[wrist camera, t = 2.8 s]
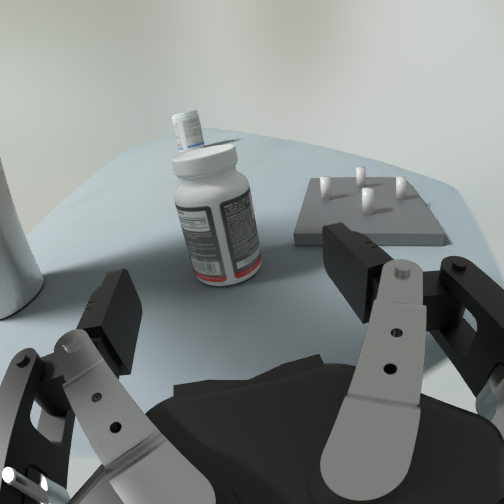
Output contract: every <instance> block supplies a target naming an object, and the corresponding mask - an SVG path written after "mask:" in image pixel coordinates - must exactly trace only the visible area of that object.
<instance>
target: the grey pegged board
mask: <svg viewBox="0 0 504 504" xmlns="http://www.w3.org/2000/svg"><path fill="white" fill-rule="evenodd" d="M339 222H342V223H343V224H344V225H345V226H347V227H348V228H349V229H350V230H351V231H352V232H353V231H356V232H359V233H362V234H364V235H366V236H367V237H368V238H370V239H371V240H372V242H374V243H376V244H377V245H378V246H443V244H444V238H445V233H444V231H443V230H442V228H441V227H440V225H439V224H438V222H437V221H436V219H435V218H434V216H433V215H432V214H431V212H430V211H429V209H428V208H427V206H426V205H425V204H424V202H423V201H422V199H421V198H420V197H419V195H418V194H417V193H416V191H415V190H414V189H413V187H412V186H411V185H410V183H409V182H408V181H407V180H406V177H403V176H397V177H396V178H389V177H366V173H365V167H356V177H345V178H330V177H328V176H324V177H320V178H311V179H310V182H309V185H308V189H307V192H306V195H305V199H304V202H303V205H302V208H301V212H300V215H299V218H298V221H297V225H296V228H295V231H294V242H295V246H323V237H322V229H323V226H324V225H329V224H334V223H339Z"/></svg>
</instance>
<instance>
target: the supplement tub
mask: <svg viewBox="0 0 504 504" xmlns="http://www.w3.org/2000/svg"><path fill="white" fill-rule="evenodd" d="M172 120H173V126H174V130H175V135H176V139H177V143H178V148H179V152H180V153H185V152H188V151H192V150H196V149H200V148H204V146H205V145H204V140H203V135H202V130H201V125H200V121H199V116H198V113H197V110H194V111H189V112H184V113H181V114H177V115H173V116H172Z"/></svg>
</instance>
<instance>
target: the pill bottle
mask: <svg viewBox="0 0 504 504" xmlns="http://www.w3.org/2000/svg"><path fill="white" fill-rule="evenodd" d="M237 161H238V158H237V153H236V148H235V146H234V145H216V146H210V147H205V148H200V149H196V150H192V151H188V152H185V153H182V154H179V155H177V156H175V157H173V158H172V165H173V171H174V174H175V175H177V177H178V178H179V179H180V185H179V186H178V187H177V189H176V191H175V194H174V200H175V205H176V208H177V212H178V216H179V220H180V223H181V227H182V231H183V234H184V238H185V241H186V245H187V248H188V252H189V255H190V259H191V262H192V265H193V269H194V272H195V275H196V276H197V278H198V279H199V280H200V281H201V282H203V283H205V284H208V285H211V286H229V285H234V284H237V283H240V282H243V281H245V280H247V279H248V278H250V277H251V276H253V275H254V274H255V273H256V272H257V271H258V269H259V268H260V266H261V261H262V258H261V251H260V245H259V239H258V233H257V227H256V222H255V215H254V209H253V204H252V197H251V192H250V186H249V182H248V180H247V178H246V177H245V176H244V175H243V174H241V173H239V172H237V171H236V167H235V165H236V164H237Z"/></svg>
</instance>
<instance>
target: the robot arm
mask: <svg viewBox="0 0 504 504" xmlns="http://www.w3.org/2000/svg"><path fill="white" fill-rule="evenodd" d="M322 237H323V258H324V266H325V269H326V272H327V274H328V276H329V277H330V278H331V280H332V281H333V282H334V284H335V285H336V286H337V288H338V289H339V291H340V292H341V293H342V295H343V296H344V298H345V299H346V300H347V302H348V303H349V305H350V306H351V307H352V309H353V310H354V312H355V313H356V315H357V316H358V317H359V319H360V320H361V322H362V323H363V324H364V323H367V322H369V324H368V327H367V331H366V335H365V339H364V342H363V346H362V349H361V353H360V356H359V359H358V363H357V366H351V365H346V364H333V363H328V364H324V363H323V361H322V359H321V357H320V355H319V354H317V355H314V356H310V357H307V358H303V359H299V360H296V361H292V362H288V363H284V364H282V365H280V366H278V367H276V368H274V369H271V370H269V371H267V372H265V373H263V374H261V375H258V376H256V377H254V378H252V379H249V380H205V381H199V382H193V383H186V384H179V385H174V395H173V397H170V398H168V399H166V400H164V401H162V402H160V403H159V404H157V405H155V406H154V407H153V408H151V409H150V410H149V411H148V412H147V413H146V414H145V413H144V412H143V411H142V410H141V409H140V407H139V406H138V405H137V404H136V402H135V401H134V400H133V399H132V397H131V396H130V395H129V394H128V392H127V391H126V390H125V388H124V387H123V386H122V384H121V383H120V382H119V376H120V375H129V374H131V370H132V364H133V358H134V353H135V348H136V342H137V337H138V332H139V327H140V322H141V318H142V306H141V302H140V299H139V297H138V295H137V292H136V290H135V287H134V285H133V283H132V280H131V278H130V275H129V273H128V271H127V270H126V269H121V270H117V271H113V272H108V273H107V275H106V277H105V279H104V282H103V284H102V286H100V287H99V288H98V289H97V290H96V291H95V292H94V293H93V294H92V295H91V298H90V300H89V302H88V304H87V306H86V308H85V311H84V313H83V315H82V317H81V319H80V322H79V324H78V326H77V328H76V330H72V331H70V332H68V333H66V334H64V335H63V336H62V337H61V338H60V339H59V340H58V341H57V343H56V345H55V347H54V353H51V354H49V355H46V356H44V357H41V358H40V356H39V355H38V354H37V352H36V351H35V350H34V349H33V348H27V349H24V350H22V351H20V352H19V353H17V354H16V355H15V356H14V358H13V359H12V360H11V362H10V364H9V367H8V369H7V371H6V374H5V376H4V378H3V381H2V383H1V386H0V504H504V290H503V289H502V288H501V287H500V286H499V285H498V284H497V283H496V282H494V281H493V280H492V279H491V278H490V277H489V276H488V275H486V274H485V273H484V272H483V271H482V270H481V269H479V268H478V267H477V266H476V265H475V264H473V263H472V262H471V261H469V260H468V259H465V258H463V257H459V256H449V257H446V258H444V259H443V260H442V262H441V267H440V271H427V272H422V269H421V268H420V266H419V265H417V264H416V263H414V262H412V261H408V260H402V259H397V260H394V259H393V258H392V257H390V256H389V255H388V254H387V253H386V252H385V251H384V250H382V249H381V248H380V247H378V245H377V244H376V243H374V242H372V240H371V239H370V238H368V237H367V236H366V235H364V234H362V233H359V232H356V231H353V232H352V231H351V230H350V229H349V228H348V227H347V226H345V225H344V224H343V223H342V222H339V223H334V224H329V225H324V226H323V229H322ZM43 283H44V278H43V276H42V274H41V272H40V269H39V267H38V265H37V263H36V261H35V258H34V256H33V254H32V252H31V249H30V246H29V244H28V242H27V239H26V237H25V234H24V232H23V229H22V226H21V224H20V221H19V218H18V215H17V213H16V210H15V207H14V204H13V201H12V198H11V195H10V191H9V188H8V184H7V181H6V177H5V174H4V170H3V168H2V163H1V159H0V319H2V318H5V317H7V316H9V315H11V314H13V313H15V312H16V311H18V310H19V309H21V308H22V307H24V306H25V305H26V304H27V303H28V302H30V301H31V300H32V299H33V298H34V297H35V296H36V294H37V293H38V292H39V291H40V289H41V287H42V286H43ZM466 308H467V310H468V311H469V312H470V313H471V314H472V315H473V316H474V317H475V319H476V321H477V333H476V331H475V330H474V329H473V328H472V327H471V326H470V324H469V323H468V322H467V321H466V320H465V319H464V318H463V315H464V312H465V309H466ZM426 331H429V332H430V333H431V335H432V336H433V337H434V339H435V340H436V341H437V343H438V344H439V345H440V347H441V348H442V349H443V351H444V352H445V354H446V355H447V356H448V358H449V359H450V360H451V362H452V363H453V365H454V366H455V368H456V369H457V370H458V372H459V373H460V374H461V376H462V378H463V379H464V381H465V382H466V384H467V385H468V387H469V388H470V390H471V391H472V393H473V394H474V396H475V397H476V410H477V413H478V414H475V413H472V412H469V411H467V410H464V409H461V408H458V407H455V406H453V405H450V404H448V403H445V402H442V401H440V400H437V399H435V398H432V397H429V396H427V395H424V394H422V393H421V385H422V377H423V367H424V356H425V341H426ZM34 400H35V401H36V402H37V404H38V405H39V406H40V407H41V408H42V411H41V415H40V419H39V423H38V428H37V429H35V428H34V426H33V425H32V423H31V420H30V412H31V409H32V405H33V402H34ZM75 415H76V417H77V419H78V421H79V423H80V425H81V427H82V429H83V431H84V433H85V435H86V436H87V438H88V440H89V442H90V444H91V445H92V447H93V449H94V451H95V452H96V454H97V456H98V457H99V459H100V461H101V462H102V465H100V467H99V468H98V469H97V470H96V471H95V472H94V474H93V475H92V476H91V477H90V478H89V479H88V480H87V481H86V483H85V484H84V485H83V486H82V487H81V488H80V489H79V491H78V492H77V493H76V494H75V495H74V496H73V497H72V498H71V499H70V497H69V494H68V492H67V491H66V488H67V475H68V464H69V455H70V447H71V440H72V433H73V427H74V421H75Z"/></svg>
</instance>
